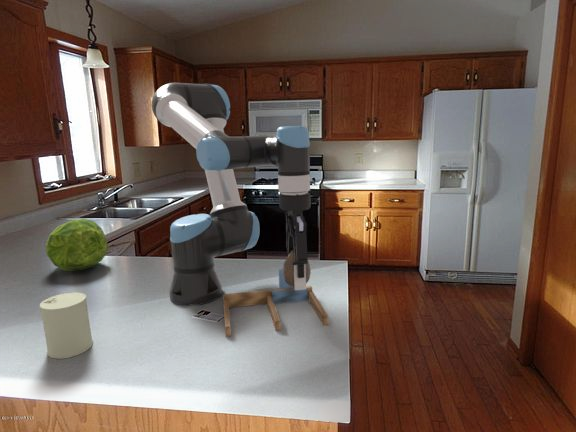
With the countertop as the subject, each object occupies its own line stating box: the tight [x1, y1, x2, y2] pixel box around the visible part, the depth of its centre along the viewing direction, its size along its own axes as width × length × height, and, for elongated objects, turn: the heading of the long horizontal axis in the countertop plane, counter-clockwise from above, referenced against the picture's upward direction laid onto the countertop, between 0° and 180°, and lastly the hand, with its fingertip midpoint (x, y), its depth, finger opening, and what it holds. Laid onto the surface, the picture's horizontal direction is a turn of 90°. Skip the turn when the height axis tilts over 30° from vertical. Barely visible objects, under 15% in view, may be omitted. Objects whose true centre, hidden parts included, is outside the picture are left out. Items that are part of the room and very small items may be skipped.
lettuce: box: [45, 218, 109, 272], centre depth 144 cm, size 19×23×18 cm
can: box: [39, 291, 94, 360], centre depth 90 cm, size 9×9×12 cm
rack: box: [222, 285, 329, 337], centre depth 104 cm, size 25×17×4 cm
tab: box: [278, 267, 293, 289], centre depth 113 cm, size 5×1×6 cm, turn 100°
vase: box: [282, 250, 311, 287], centre depth 99 cm, size 7×7×9 cm
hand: (297, 283), depth 100 cm, fingers closed on vase, 7 cm apart
